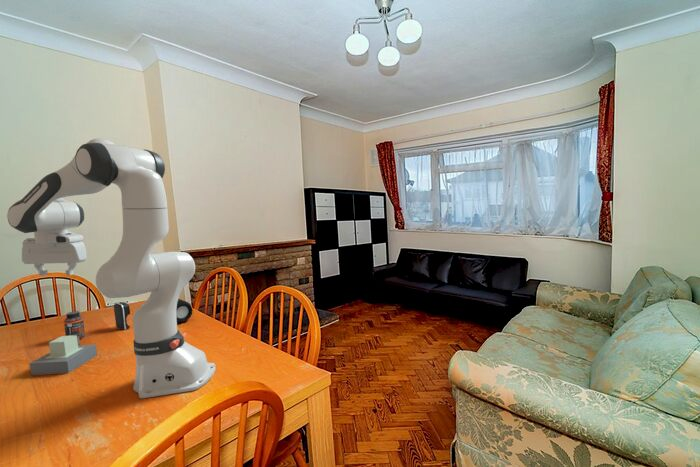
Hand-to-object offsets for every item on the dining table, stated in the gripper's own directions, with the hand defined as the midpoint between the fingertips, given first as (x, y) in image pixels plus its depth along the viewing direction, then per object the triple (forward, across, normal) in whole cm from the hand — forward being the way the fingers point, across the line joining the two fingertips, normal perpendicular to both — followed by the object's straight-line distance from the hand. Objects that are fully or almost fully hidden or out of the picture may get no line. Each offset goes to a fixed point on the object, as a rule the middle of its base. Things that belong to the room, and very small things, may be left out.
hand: (56, 275), depth 114 cm
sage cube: (+25, +8, -9) cm, 28 cm away
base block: (+30, +8, -9) cm, 32 cm away
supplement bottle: (+30, -7, +13) cm, 34 cm away
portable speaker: (+30, +22, +33) cm, 50 cm away
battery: (+30, +6, +23) cm, 38 cm away
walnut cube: (+30, +1, 0) cm, 30 cm away
